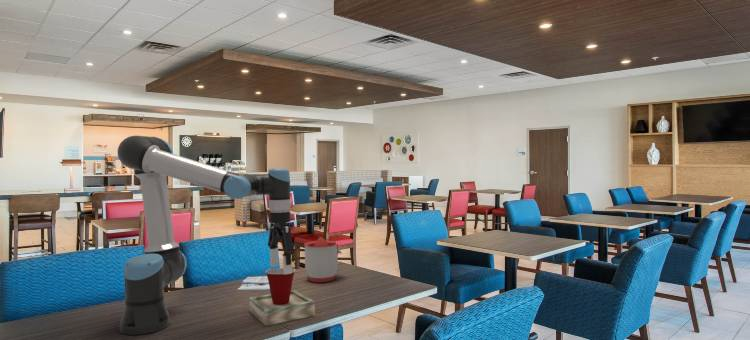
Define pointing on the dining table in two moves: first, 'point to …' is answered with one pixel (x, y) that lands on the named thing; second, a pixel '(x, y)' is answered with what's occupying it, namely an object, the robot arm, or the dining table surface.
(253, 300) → the stand
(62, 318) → the dining table surface
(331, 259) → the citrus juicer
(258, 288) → the white flat piece
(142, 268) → the robot arm
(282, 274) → the plastic cup
